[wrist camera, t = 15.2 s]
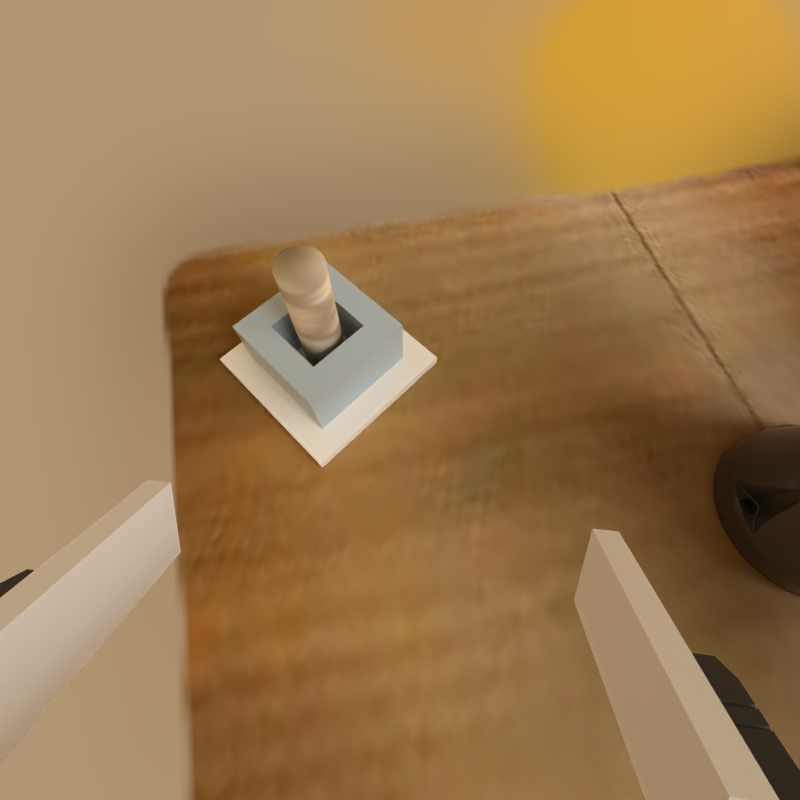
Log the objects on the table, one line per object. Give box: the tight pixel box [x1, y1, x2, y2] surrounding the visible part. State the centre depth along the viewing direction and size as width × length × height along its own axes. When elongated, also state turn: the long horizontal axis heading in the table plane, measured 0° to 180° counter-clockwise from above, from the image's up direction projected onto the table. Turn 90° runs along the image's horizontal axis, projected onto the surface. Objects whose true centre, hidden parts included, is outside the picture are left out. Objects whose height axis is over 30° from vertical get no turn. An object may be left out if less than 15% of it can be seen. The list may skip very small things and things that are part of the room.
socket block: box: [220, 262, 437, 468], centre depth 43 cm, size 16×16×7 cm
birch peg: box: [272, 245, 344, 367], centre depth 38 cm, size 4×4×14 cm
